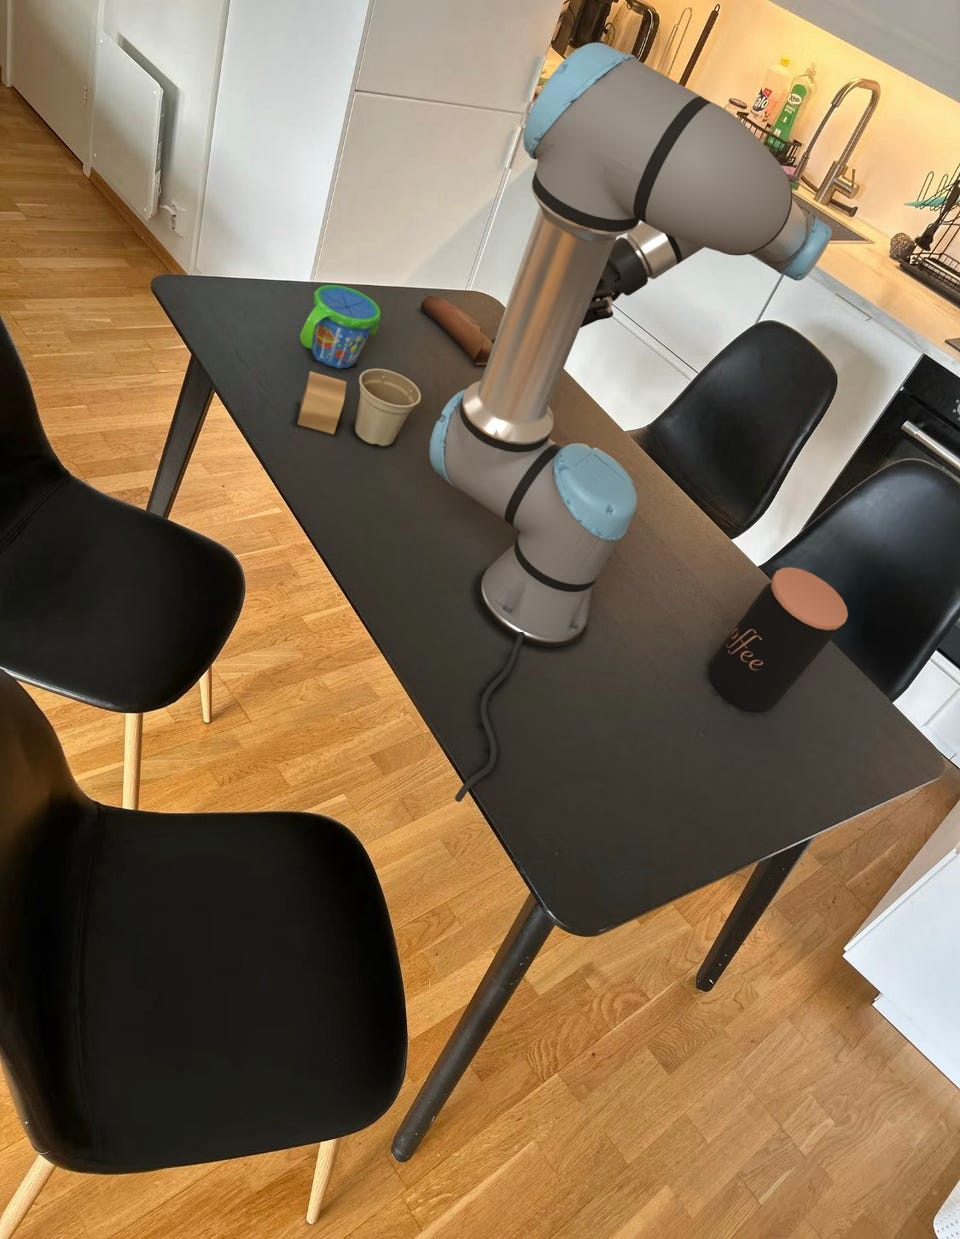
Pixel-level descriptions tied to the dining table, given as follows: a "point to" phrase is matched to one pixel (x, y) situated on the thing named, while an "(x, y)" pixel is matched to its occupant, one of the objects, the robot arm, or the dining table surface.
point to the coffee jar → (776, 640)
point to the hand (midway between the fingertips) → (496, 349)
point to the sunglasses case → (459, 328)
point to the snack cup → (339, 325)
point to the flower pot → (384, 405)
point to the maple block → (322, 403)
